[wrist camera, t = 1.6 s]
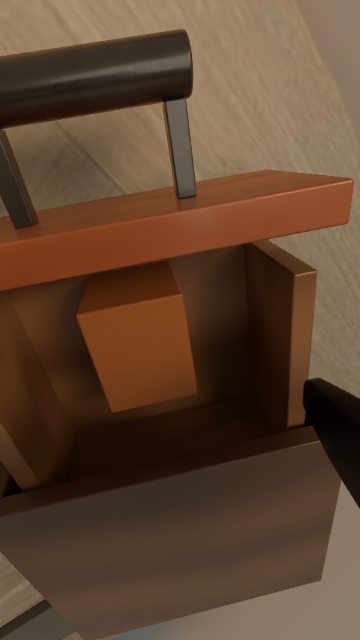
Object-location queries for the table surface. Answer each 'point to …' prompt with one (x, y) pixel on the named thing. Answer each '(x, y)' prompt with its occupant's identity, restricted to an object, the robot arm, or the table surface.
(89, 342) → the orange cube block
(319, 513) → the cabinet
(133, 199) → the drawer
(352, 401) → the robot arm
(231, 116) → the table surface
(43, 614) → the board
